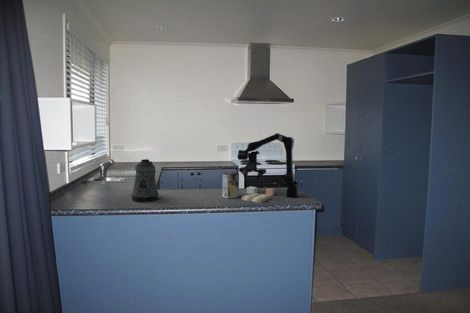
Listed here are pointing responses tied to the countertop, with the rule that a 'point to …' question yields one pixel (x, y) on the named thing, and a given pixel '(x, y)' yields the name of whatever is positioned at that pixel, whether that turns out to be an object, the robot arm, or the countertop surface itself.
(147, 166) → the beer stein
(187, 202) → the countertop surface
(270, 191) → the terracotta cube
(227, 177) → the coffee box
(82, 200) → the countertop surface
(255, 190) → the sage block
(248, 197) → the birch plinth
